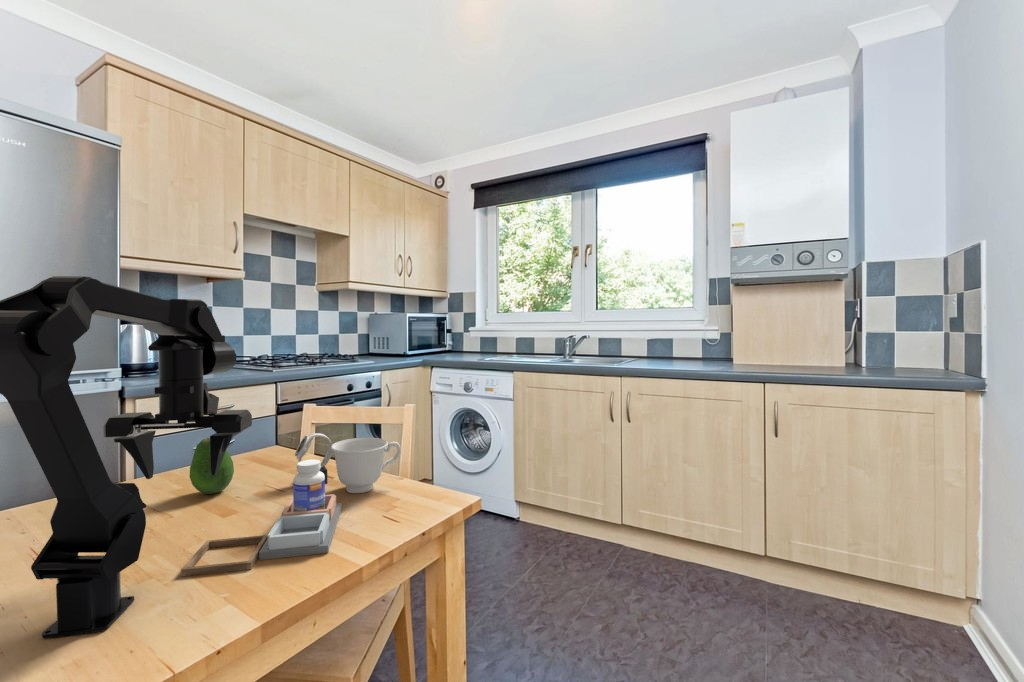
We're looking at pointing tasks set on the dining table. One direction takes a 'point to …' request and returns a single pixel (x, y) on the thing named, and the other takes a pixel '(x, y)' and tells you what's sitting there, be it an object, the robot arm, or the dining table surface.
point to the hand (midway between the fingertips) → (182, 476)
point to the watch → (305, 446)
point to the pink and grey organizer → (302, 531)
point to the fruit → (209, 470)
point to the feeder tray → (224, 567)
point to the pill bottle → (309, 486)
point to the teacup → (361, 461)
